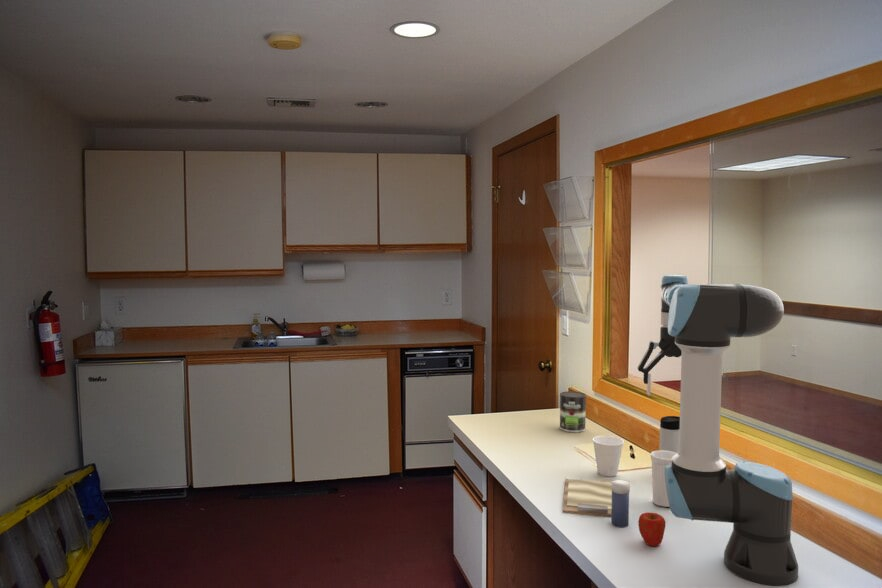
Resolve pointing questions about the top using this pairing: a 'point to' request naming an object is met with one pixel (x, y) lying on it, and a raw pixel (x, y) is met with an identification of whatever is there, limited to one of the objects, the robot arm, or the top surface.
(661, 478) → the cup
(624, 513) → the blue bottle
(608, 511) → the clipboard
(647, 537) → the apple
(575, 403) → the coffee can
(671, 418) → the travel mug
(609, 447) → the cup
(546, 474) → the top surface
